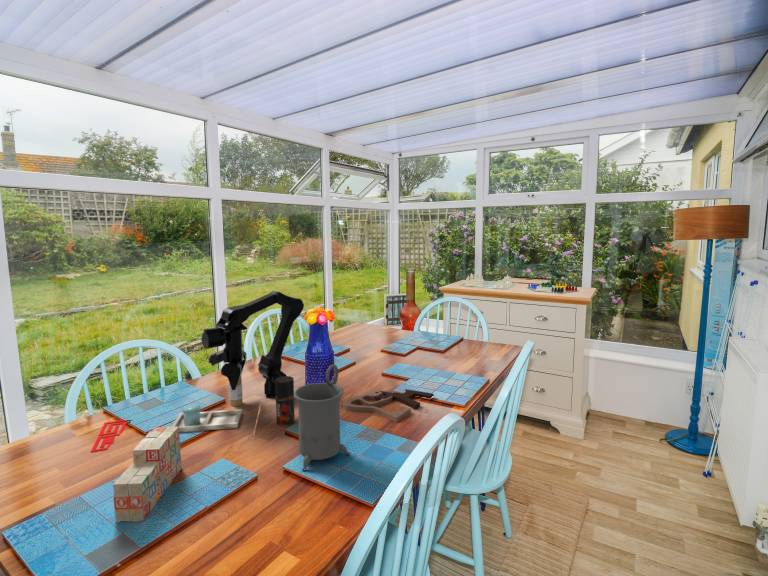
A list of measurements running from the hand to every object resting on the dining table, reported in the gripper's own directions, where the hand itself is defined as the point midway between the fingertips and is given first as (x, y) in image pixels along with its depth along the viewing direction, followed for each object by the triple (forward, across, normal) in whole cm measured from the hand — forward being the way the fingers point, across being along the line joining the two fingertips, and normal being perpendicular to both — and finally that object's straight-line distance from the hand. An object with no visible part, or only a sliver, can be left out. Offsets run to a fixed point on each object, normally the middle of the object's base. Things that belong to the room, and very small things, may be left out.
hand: (235, 385), depth 155 cm
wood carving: (+9, +6, +55) cm, 56 cm away
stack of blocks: (+8, +49, -13) cm, 52 cm away
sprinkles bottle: (+8, 0, 0) cm, 8 cm away
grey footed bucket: (+8, +39, +29) cm, 49 cm away
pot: (+7, +14, -12) cm, 20 cm away
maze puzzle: (+9, +14, -29) cm, 33 cm away
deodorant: (+8, +16, +18) cm, 25 cm away
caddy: (+8, +14, -7) cm, 18 cm away
